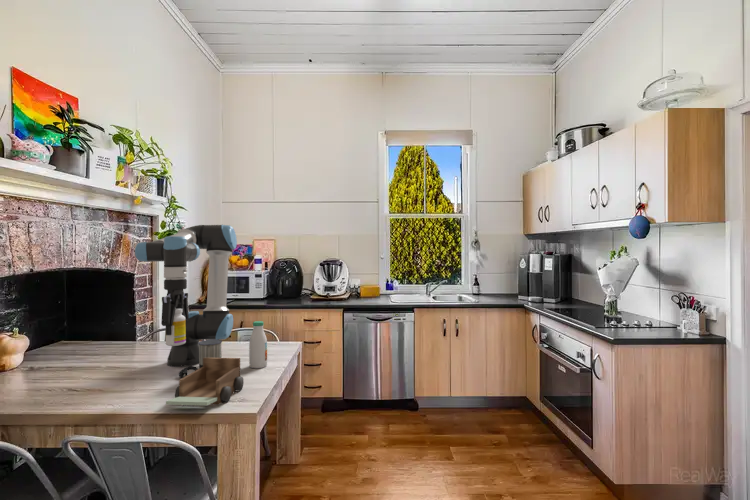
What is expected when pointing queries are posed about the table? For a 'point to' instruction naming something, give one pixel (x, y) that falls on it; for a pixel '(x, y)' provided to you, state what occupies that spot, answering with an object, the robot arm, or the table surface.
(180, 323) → the supplement bottle
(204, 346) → the milk frother
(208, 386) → the tray
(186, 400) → the panel
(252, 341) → the milk bottle
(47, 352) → the table surface
